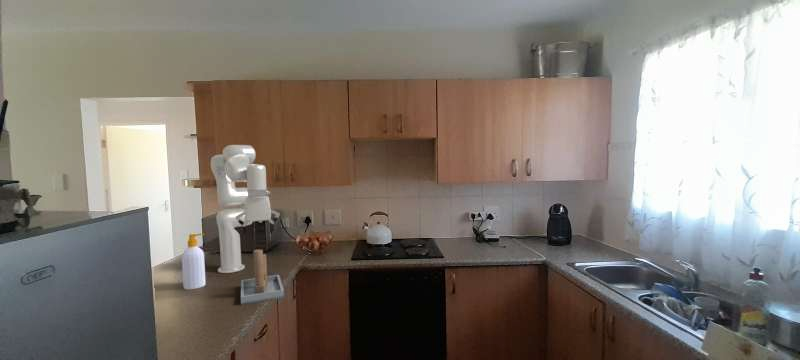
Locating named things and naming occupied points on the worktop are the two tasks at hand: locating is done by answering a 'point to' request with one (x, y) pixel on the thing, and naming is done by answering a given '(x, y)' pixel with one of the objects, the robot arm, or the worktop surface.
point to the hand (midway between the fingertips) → (258, 234)
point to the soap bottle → (193, 265)
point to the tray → (271, 292)
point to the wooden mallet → (260, 271)
